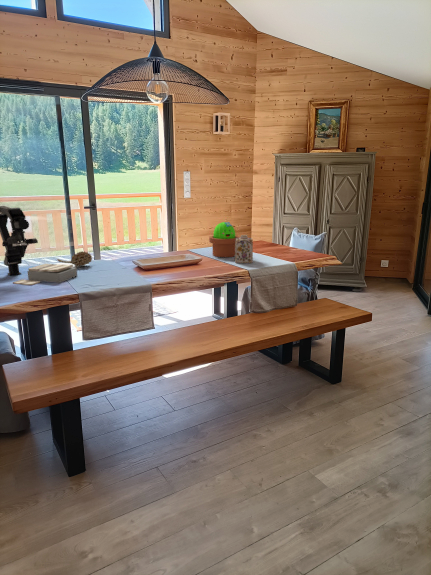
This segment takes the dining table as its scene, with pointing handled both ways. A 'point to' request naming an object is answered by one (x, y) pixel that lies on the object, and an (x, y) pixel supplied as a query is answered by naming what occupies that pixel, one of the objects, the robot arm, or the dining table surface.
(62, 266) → the board
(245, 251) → the decorative jar
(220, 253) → the potted cactus
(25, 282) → the plank
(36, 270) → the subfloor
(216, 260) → the dining table surface
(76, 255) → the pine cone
